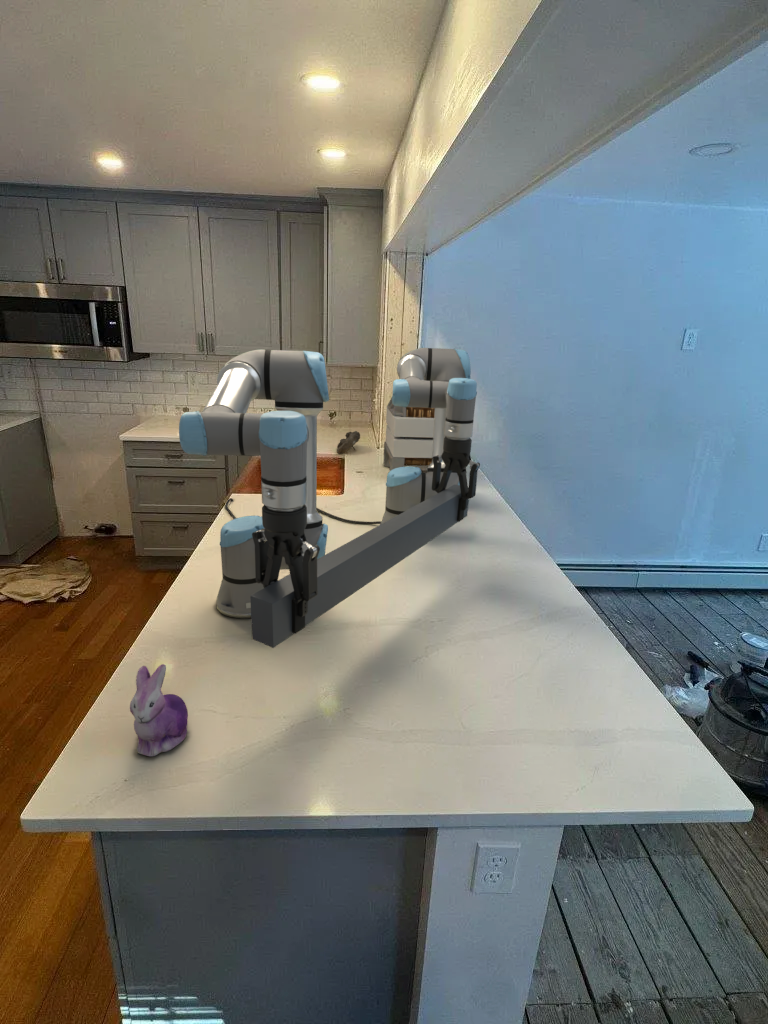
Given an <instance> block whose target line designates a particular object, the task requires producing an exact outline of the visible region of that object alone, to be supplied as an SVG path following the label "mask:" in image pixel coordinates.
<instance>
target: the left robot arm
mask: <svg viewBox="0 0 768 1024" xmlns="http://www.w3.org/2000/svg"><path fill="white" fill-rule="evenodd" d="M254 400H267V401H274V409H275V410H271V411H267V412H264V413H255V412H254V413H253V412H252V413H251V412H250V413H249V412H248V409H249V408H250V404H251V402H253V401H254ZM329 401H330V395H329V386H328V378H327V368H326V361H325V358H324V356H323V354H322V353H320V352H317V351H308V350H284V349H264V348H263V349H260V348H259V349H253V350H249V351H246V352H243V353H240V354H239V355H236V356H234V357H233V358H231V359H230V360H228V361H226V363H225V364H223V365H222V367H221V369H220V370H219V371H218V374H217V378H216V387H215V389H213V392H212V394H211V396H210V397H209V399H208V401H207V403H206V405H205V406H204V408H203V409H202V411H199V410H195V411H186V412H183V413H182V414H181V416H180V420H179V422H178V423H179V425H178V437H179V438H178V439H179V445H180V447H181V450H182V451H183V452H184V453H186V454H187V455H199V456H205V457H207V456H246V457H249V456H250V457H260V472H261V473H260V474H261V475H260V483H261V503H262V504H263V505H262V507H261V515H244V516H240V517H237V516H235V514H233V512H232V511H231V510H230V508H229V507H228V504H229V503H230V502H233V501H234V499H233V498H228V499H227V500H226V502H225V504H224V507H225V510H226V511H227V512H228V514H230V516H231V517H232V518H233V519H231V520H229V521H228V522H225V523H224V524H223V525H222V527H220V532H219V534H220V535H219V536H220V537H219V546H220V560H221V561H220V562H221V575H222V578H221V579H222V580H221V583H220V586H219V589H218V593H217V597H216V608H217V610H218V612H219V613H220V614H222V615H224V616H226V617H230V618H233V619H234V618H236V619H251V600H250V596H251V595H252V594H254V593H256V592H258V591H260V590H262V589H263V588H265V587H267V586H269V585H271V584H273V583H274V582H276V581H278V580H279V576H280V571H281V570H288V571H289V574H290V576H291V580H292V585H293V589H294V594H295V598H294V599H293V600H292V632H293V633H295V634H297V633H299V632H300V631H302V630H303V629H305V628H306V626H305V615H306V614H307V613H308V601H309V600H311V599H312V598H314V597H315V596H317V594H318V584H317V559H318V558H320V557H322V556H324V555H326V548H327V541H328V540H327V539H328V533H329V525H328V524H326V523H323V516H322V515H321V514H320V512H319V511H317V510H316V508H318V507H317V500H318V499H317V498H318V497H317V492H318V491H317V490H318V489H317V487H318V486H317V484H318V483H317V479H318V478H317V474H318V473H317V470H318V469H317V468H318V467H317V466H318V461H317V458H318V454H317V453H318V451H317V450H318V448H317V447H318V415H319V414H320V413H321V412H322V411H323V410H324V403H326V402H329ZM295 634H294V635H295Z"/></svg>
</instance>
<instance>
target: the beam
mask: <svg viewBox="0 0 768 1024" xmlns="http://www.w3.org/2000/svg"><path fill="white" fill-rule="evenodd" d="M468 488H469V486H468ZM460 498H462V497H461V490H460V485H455V484H454V485H452V486H451V487H449V488H447V489H445V490H443V491H441V492H440V493H438V494H436V495H434V496H432V497H430V498H429V499H427V500H425V501H423V502H421V503H419V504H418V505H416V506H414V507H412V508H410V509H408V510H407V511H405V512H403V513H401V514H399V515H397V516H396V517H394V518H392V519H390V520H388V521H386V522H385V523H383V524H381V525H380V524H378V525H377V526H375V527H373V528H372V529H370V530H368V531H366V532H365V533H362V534H361V535H359V536H357V537H356V538H355V537H354V538H353V539H352V540H349V541H348V542H346V543H344V544H342V545H340V546H338V547H337V548H335V549H333V550H331V551H330V552H327V553H325V555H324V556H322V557H320V558H318V559H317V584H318V594H317V596H315V597H314V598H312V599H311V600H309V601H308V613H307V614H306V615H305V627H306V626H308V625H309V624H311V623H312V622H314V621H315V620H317V619H319V618H320V617H321V616H322V615H325V613H328V611H330V610H331V609H333V608H334V607H336V606H337V605H339V604H340V603H342V602H344V601H345V600H347V599H348V598H349V597H350V596H352V595H353V594H355V593H357V592H358V591H360V590H361V589H362V588H365V586H367V585H369V584H370V583H371V582H373V581H374V580H375V579H377V578H379V577H380V576H381V575H383V574H384V573H386V572H388V571H389V570H390V569H392V568H393V567H394V566H396V565H397V564H400V563H401V562H402V561H404V560H405V559H406V558H408V557H409V556H411V555H412V554H414V553H415V552H417V551H418V550H419V549H421V548H422V547H424V546H425V545H428V544H429V543H430V542H431V541H433V540H434V539H435V538H437V537H439V536H440V535H441V534H443V533H444V532H445V531H448V530H449V529H450V528H452V527H453V526H454V525H456V524H458V523H459V521H457V514H458V503H459V499H460ZM469 502H470V499H468V505H470V504H469ZM468 512H469V506H468V507H467V509H466V510H464V518H463V519H465V518H466V517H468V514H469V513H468ZM294 598H295V594H294V589H293V585H292V580H291V576H290V573H289V574H287V575H285V576H284V577H282V578H280V579H278V581H276V582H274V583H273V584H271V585H269V586H267V587H265V588H263V589H262V590H260V591H258V592H256V593H254V594H252V595H251V596H250V600H251V618H250V620H251V621H250V625H251V640H254V641H256V642H257V643H260V644H263V645H265V646H268V647H270V648H271V649H274V648H276V647H278V645H280V644H282V643H283V642H285V641H286V640H287V639H289V638H291V637H292V636H293V635H295V633H293V632H292V600H293V599H294Z"/></svg>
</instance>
